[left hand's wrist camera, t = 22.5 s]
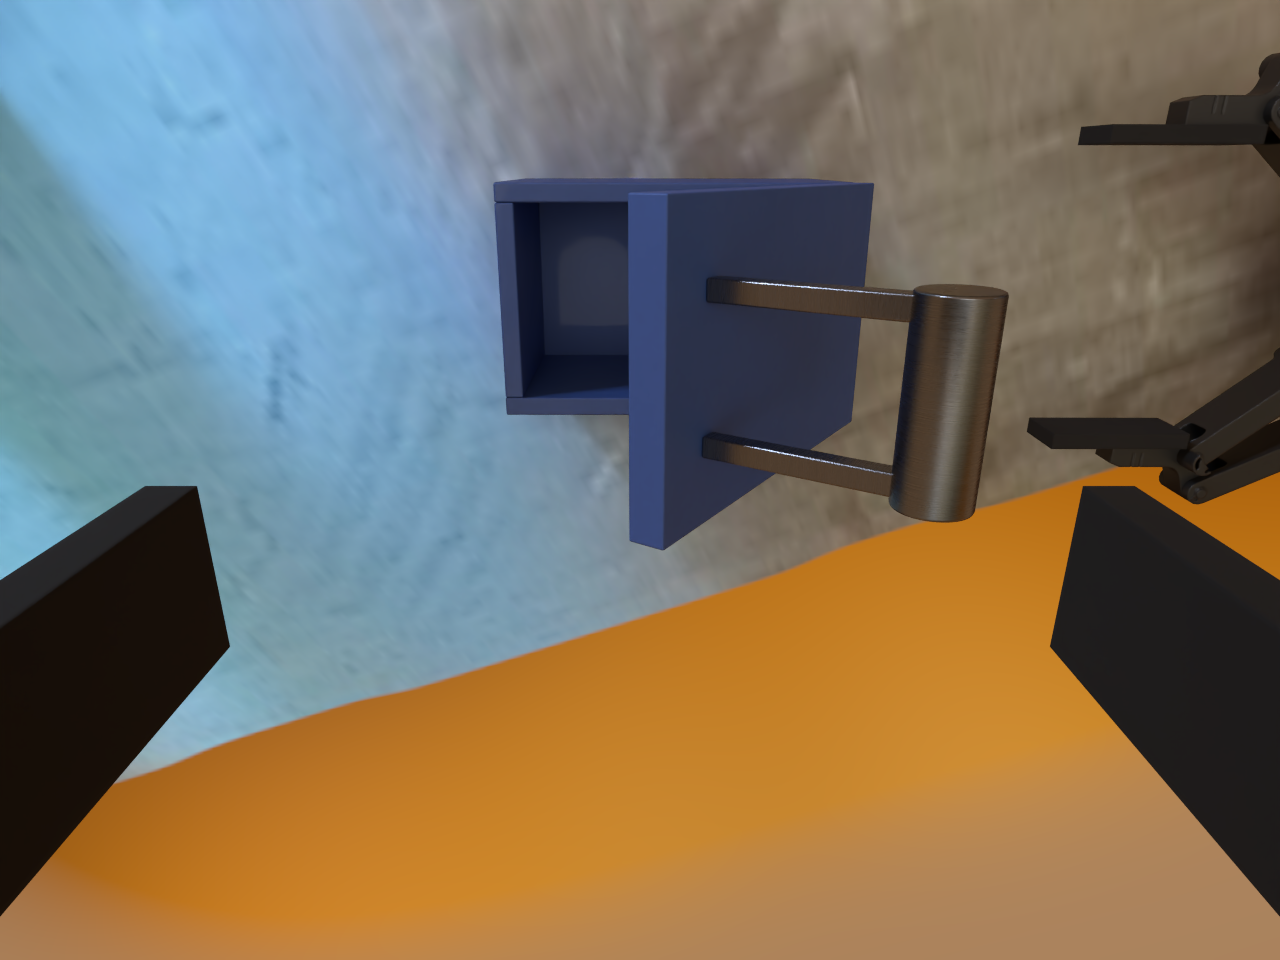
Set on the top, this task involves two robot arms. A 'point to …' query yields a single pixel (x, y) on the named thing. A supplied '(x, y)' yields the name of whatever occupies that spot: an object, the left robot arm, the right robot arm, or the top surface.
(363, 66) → the top surface
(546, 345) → the chest
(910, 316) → the lid
